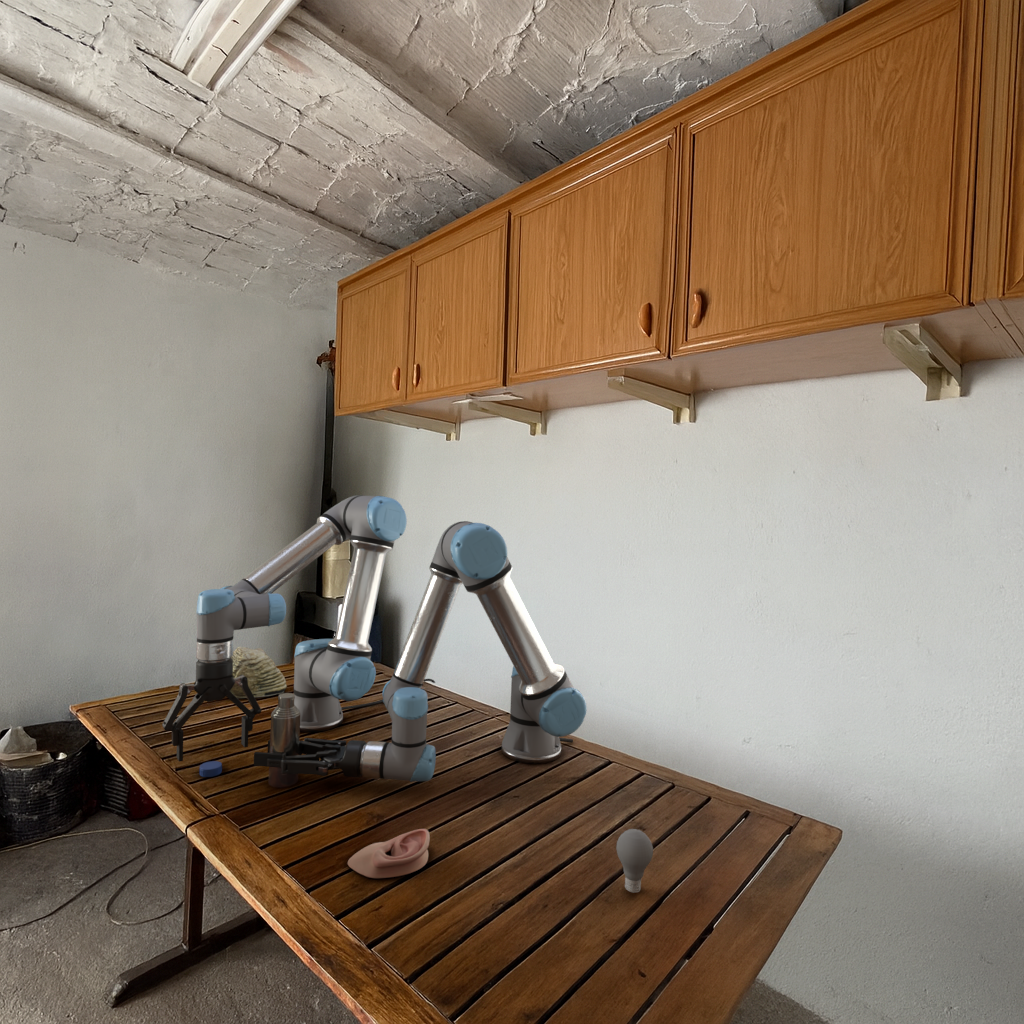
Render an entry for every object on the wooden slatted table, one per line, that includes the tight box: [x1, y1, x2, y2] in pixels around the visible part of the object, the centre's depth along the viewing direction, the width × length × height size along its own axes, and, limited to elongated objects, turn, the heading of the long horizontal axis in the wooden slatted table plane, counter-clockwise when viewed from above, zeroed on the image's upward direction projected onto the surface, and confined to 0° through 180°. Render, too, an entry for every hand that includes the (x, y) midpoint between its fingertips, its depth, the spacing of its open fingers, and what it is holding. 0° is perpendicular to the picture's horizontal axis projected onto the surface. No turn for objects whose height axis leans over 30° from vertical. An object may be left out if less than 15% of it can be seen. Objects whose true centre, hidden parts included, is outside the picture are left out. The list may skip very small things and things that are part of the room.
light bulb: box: [615, 828, 654, 894], centre depth 106 cm, size 6×6×10 cm
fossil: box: [230, 646, 288, 699], centre depth 198 cm, size 9×18×15 cm, turn 132°
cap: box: [198, 760, 223, 778], centre depth 143 cm, size 5×5×2 cm
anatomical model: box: [347, 828, 431, 879], centre depth 111 cm, size 13×4×12 cm
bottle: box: [268, 692, 301, 788], centre depth 140 cm, size 6×6×19 cm
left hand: (213, 752), depth 143 cm, fingers open, 13 cm apart
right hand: (261, 752), depth 140 cm, fingers closed on bottle, 6 cm apart
